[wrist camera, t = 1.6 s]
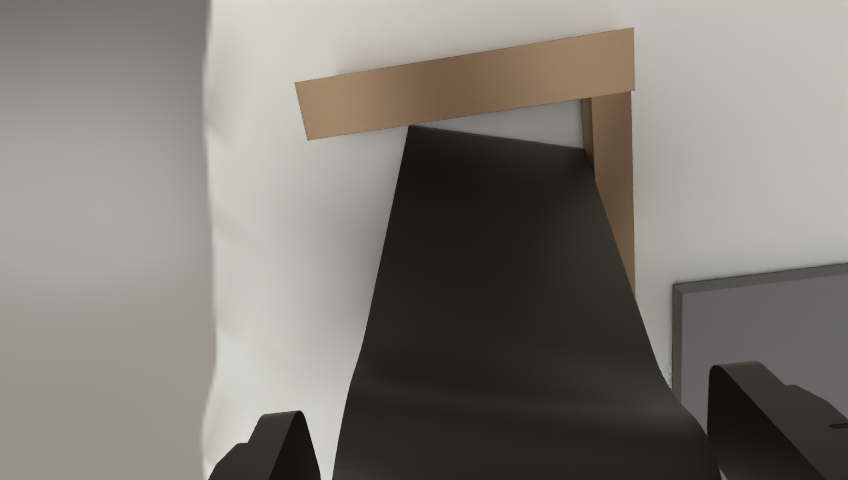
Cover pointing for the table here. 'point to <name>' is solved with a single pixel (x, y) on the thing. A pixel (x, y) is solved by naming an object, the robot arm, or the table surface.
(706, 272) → the table surface
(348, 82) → the holder
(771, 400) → the robot arm
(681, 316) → the mat
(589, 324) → the phone stand
